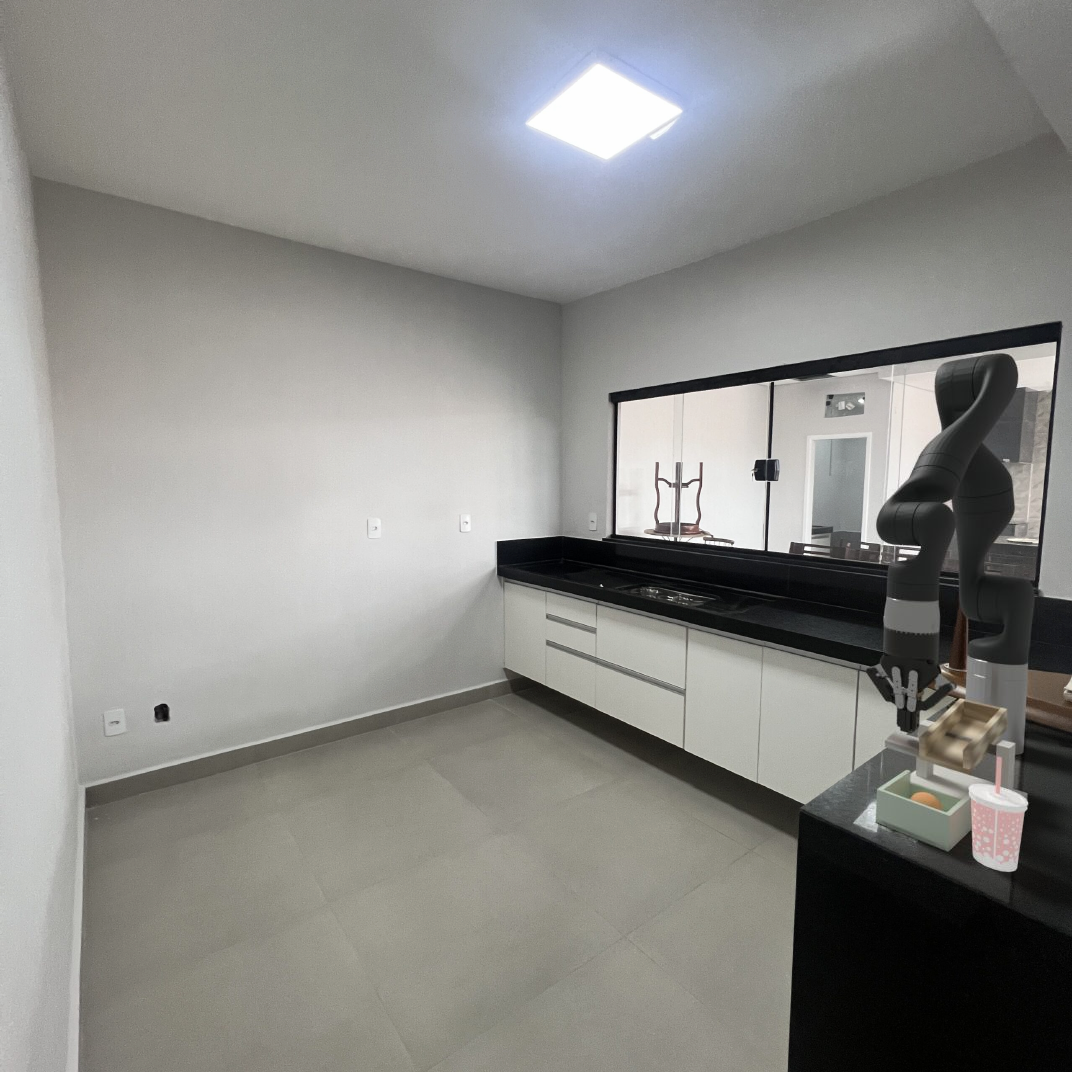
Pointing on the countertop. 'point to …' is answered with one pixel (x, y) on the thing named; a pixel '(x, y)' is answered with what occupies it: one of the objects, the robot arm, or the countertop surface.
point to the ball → (927, 800)
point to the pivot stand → (958, 781)
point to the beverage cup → (996, 824)
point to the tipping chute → (956, 736)
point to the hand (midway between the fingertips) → (907, 731)
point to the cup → (923, 813)
